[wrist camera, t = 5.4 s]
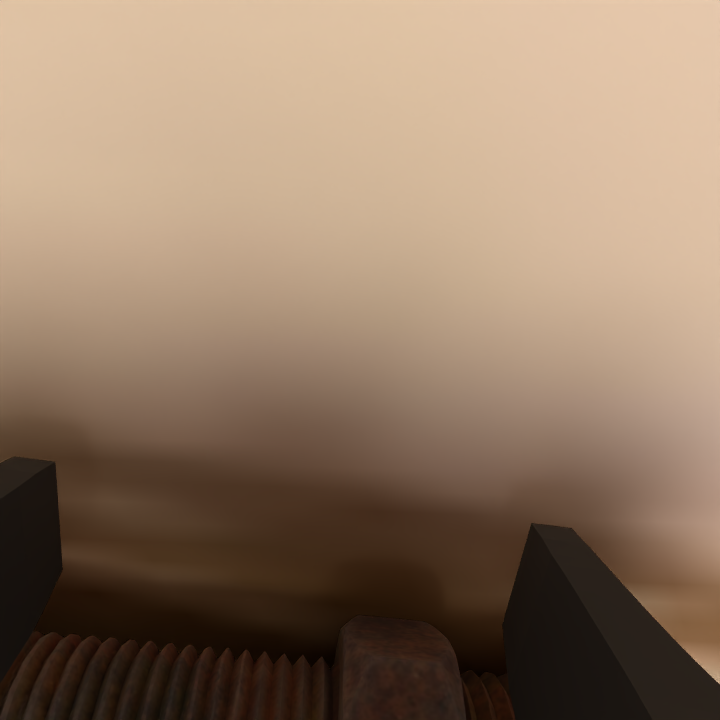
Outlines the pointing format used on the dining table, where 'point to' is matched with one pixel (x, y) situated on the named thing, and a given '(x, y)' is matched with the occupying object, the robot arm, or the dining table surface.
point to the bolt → (253, 680)
